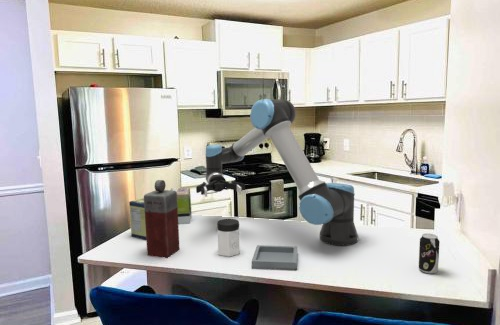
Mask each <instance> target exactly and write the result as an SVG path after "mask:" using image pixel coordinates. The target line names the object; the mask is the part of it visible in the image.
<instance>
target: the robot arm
mask: <svg viewBox="0 0 500 325" xmlns="http://www.w3.org/2000/svg"><path fill="white" fill-rule="evenodd" d="M249 116H250V118H249V119H250V122H251V125H252V126H253V127H254V128H253V129H251V130H250V131H248V132H247V133H246V134H245V135H243V137H241V138H240V139H238V140H237V141H236V142H235V143H233V144H231V146H229V147H228V146H227V147H222V145H220V144H210V145H207V146H206V147H205V166H206V167H205V170H206V171H205V172H206V173H205V181H206V182H205V181H203V182H202V183H201V184H198V185H197V186H195V189H196V190H195V191H196V194H199V193H200V195H202V196H203V195H204V197H206V198H207V197H208V192H209V191H211V192H212V191H213V192H216V193H219V192H222V191H224V190H225V191H228V190H233V191H236V192H237V193H238V195H242V192H243V191H245V190H246V184H245V183H242V182H239V181H238V182H237V181H234V180H231V181H227V180H226V178H225V177H224V176H223V164H231V163H237V162H241V161H243V160H244V158H245V155H247V154H248V153H249V152H252V150H254V149H255V148H257V147H258V146H259V145H261V144H262V143H264V142H265V141H266V140H268V139H270V140H271V142H272V144H273V146H274V148H275V149H276V151H277V152H278V154H279V156H280V158H281V160H282V162H283V163H284V166H285V167H286V168H287V171H288V172H289V174H290V176H291V178H292V180H293V181H294V183H295V185H296V187H297V189H298V191H299V192H298V199H299V213H300V214H301V216H302V218H303V219H304V220H305V221H306V222H307V223H309V224H312V225H314V226H319V225H321V227H320V231H319V240H320V241H322V242H323V243H324V244H328V245H332V246H333V245H335V246H350V245H355V244H356V243H358V240H359V237H358V236H359V234H358V231H357V228H356V225H355V221H354V216H355V195H356V194H355V188H354V186H353V185H351V184H347V183H339V182H325V181H323V180H320V179H319V177H318V175H317V174H316V172H315V170H314V168H313V167H312V165H311V163H310V161H309V159H308V157H307V156H306V155H305V152H304V150H303V149H302V147H301V146H300V144H299V142H298V140H297V139H296V137H295V135H294V133H293V131H292V129H291V125H292V124H293V123H294V121H295V119H296V116H297V112H296V108H295V105H294V104H293V103H292V102H291V101H289V100H287V99H282V98H281V99H280V98H279V99H275V98H274V99H273V98H272V99H269V98H264V99H259V100H257V101H255V102H254V103H253V105H252V107H251V109H250V114H249Z"/></svg>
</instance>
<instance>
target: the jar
mask: <svg viewBox="0 0 500 325" xmlns="http://www.w3.org/2000/svg"><path fill="white" fill-rule="evenodd" d="M216 223H217V224H216V225H217V245H218V246H217V247H218V248H217V250H218V251H217V252H218V254H217V255H218V256H221V257H222V256H223V257H226V258H227V257H228V258H229V257H232V256H236V255H237V256H239V255H240V221H239V220H238V219H237V218H222V219H219V220H217V222H216Z"/></svg>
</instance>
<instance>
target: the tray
mask: <svg viewBox="0 0 500 325" xmlns="http://www.w3.org/2000/svg"><path fill="white" fill-rule="evenodd" d="M255 247H256V248H255V250H254V253H253V256H252V259H251V269H256V270H261V269H262V270H280V271H283V270H286V271H297V264H298V262H297V261H298V246H297V245H296V246H294V245H293V246H292V245H262V244H261V245H260V244H257V245H256V246H255Z"/></svg>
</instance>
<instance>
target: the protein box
mask: <svg viewBox="0 0 500 325" xmlns="http://www.w3.org/2000/svg"><path fill="white" fill-rule="evenodd" d="M128 203H129V218H130V233H131V234H130V235H131V237H133V238H137V239H142V240H145V241H146V226H145V210H144V197H142V198H138V199H135V200H131V201H129V202H128Z"/></svg>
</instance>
